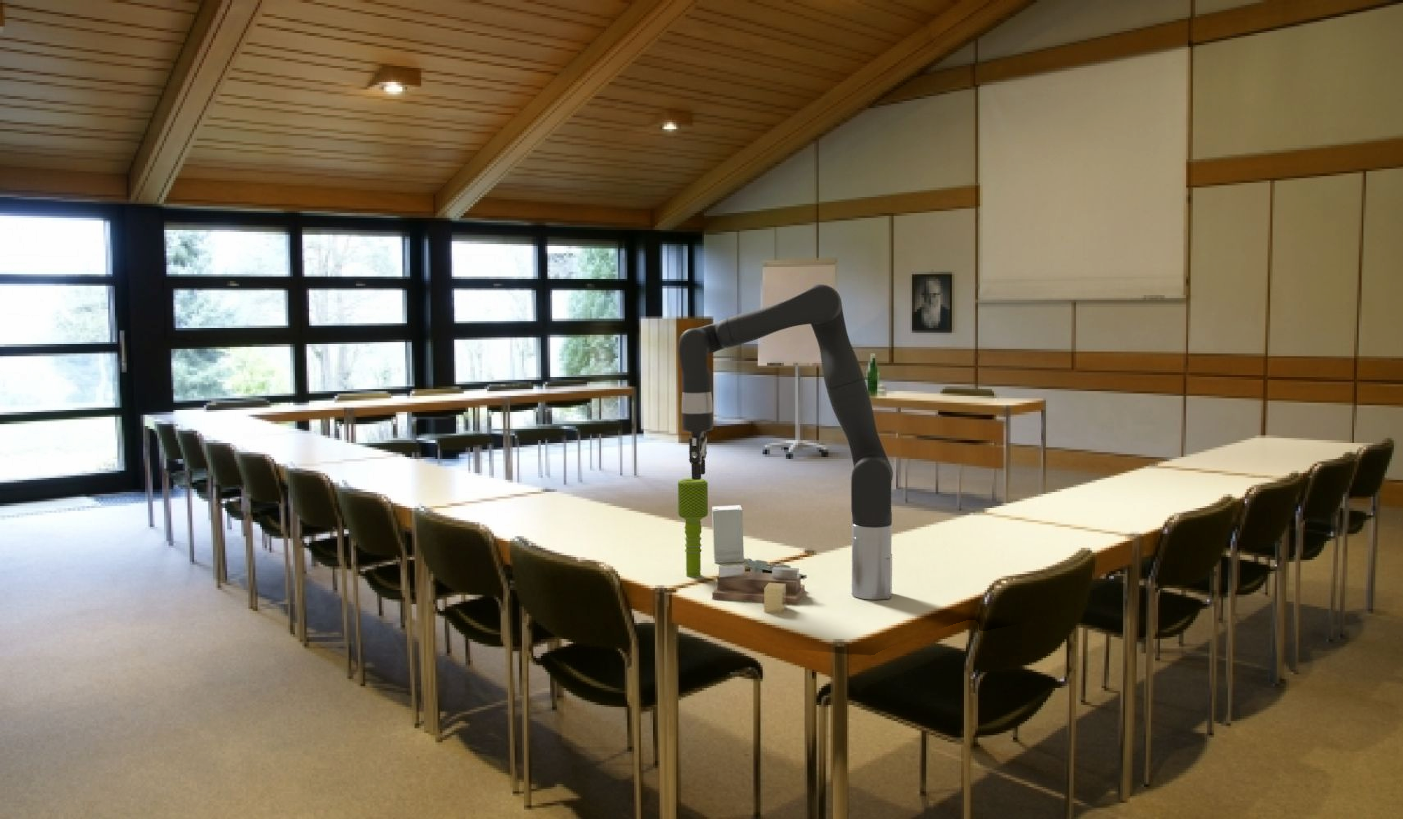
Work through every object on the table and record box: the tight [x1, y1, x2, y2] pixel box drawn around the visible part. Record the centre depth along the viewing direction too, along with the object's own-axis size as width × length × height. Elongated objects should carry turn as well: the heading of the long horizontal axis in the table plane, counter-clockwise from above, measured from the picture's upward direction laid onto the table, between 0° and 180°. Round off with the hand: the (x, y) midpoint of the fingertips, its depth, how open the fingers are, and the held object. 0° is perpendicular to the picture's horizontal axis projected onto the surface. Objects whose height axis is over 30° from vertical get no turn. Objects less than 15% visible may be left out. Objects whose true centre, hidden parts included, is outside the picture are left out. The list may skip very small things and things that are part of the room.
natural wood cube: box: [763, 583, 787, 614], centre depth 229 cm, size 5×4×6 cm
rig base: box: [711, 571, 806, 605], centre depth 241 cm, size 20×12×4 cm, turn 75°
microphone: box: [677, 477, 709, 578], centre depth 259 cm, size 8×8×25 cm
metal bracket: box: [738, 557, 808, 577], centre depth 259 cm, size 14×6×15 cm
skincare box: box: [711, 504, 745, 564], centre depth 275 cm, size 8×6×15 cm
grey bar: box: [718, 564, 800, 580], centre depth 240 cm, size 19×4×2 cm, turn 75°
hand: (698, 476), depth 247 cm, fingers open, 8 cm apart
